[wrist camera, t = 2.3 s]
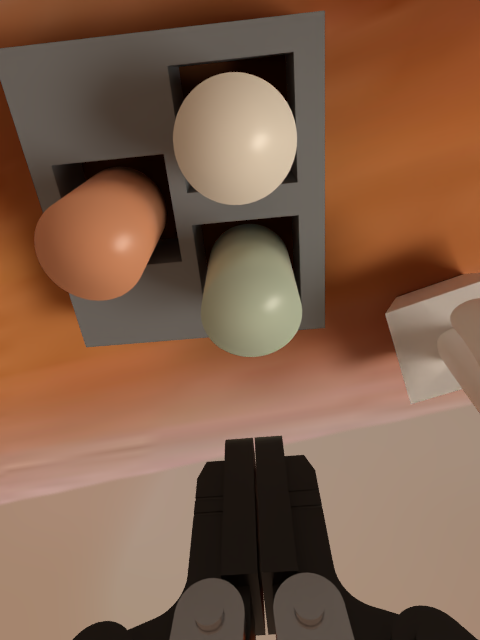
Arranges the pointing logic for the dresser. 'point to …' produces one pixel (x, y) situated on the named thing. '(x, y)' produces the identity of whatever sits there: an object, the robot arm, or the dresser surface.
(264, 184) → the white egg
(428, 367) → the figurine
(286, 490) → the robot arm
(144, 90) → the grey square tray
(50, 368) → the dresser surface
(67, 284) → the brown egg
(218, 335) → the green egg
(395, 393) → the dresser surface
